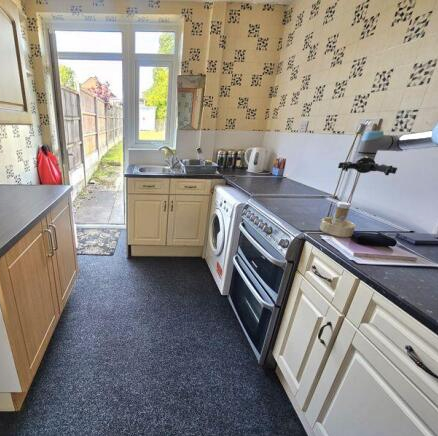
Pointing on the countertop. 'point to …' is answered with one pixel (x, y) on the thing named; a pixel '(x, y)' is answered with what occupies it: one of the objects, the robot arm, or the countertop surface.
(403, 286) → the countertop surface
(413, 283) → the countertop surface
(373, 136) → the robot arm
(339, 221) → the sprinkles bottle
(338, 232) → the beige round bowl
